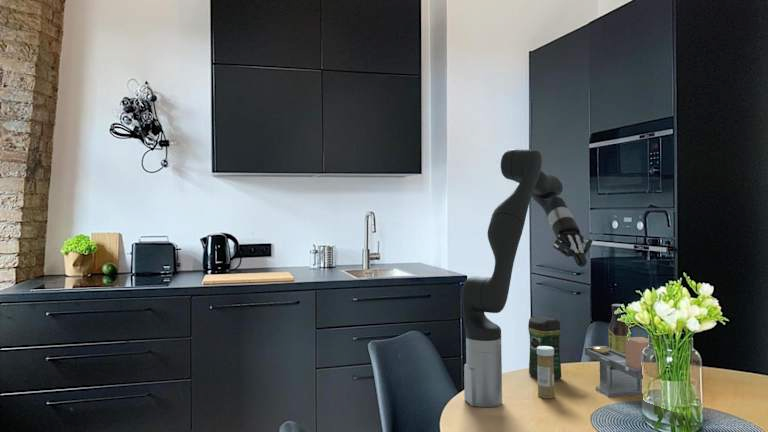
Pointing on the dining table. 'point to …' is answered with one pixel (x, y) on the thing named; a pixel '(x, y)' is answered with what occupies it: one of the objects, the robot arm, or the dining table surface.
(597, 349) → the brass weight
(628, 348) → the brown rectangular block
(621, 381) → the fulcrum
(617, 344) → the sauce bottle
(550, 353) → the sprinkles bottle
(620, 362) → the beam
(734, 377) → the dining table surface
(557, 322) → the coffee jar
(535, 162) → the robot arm
